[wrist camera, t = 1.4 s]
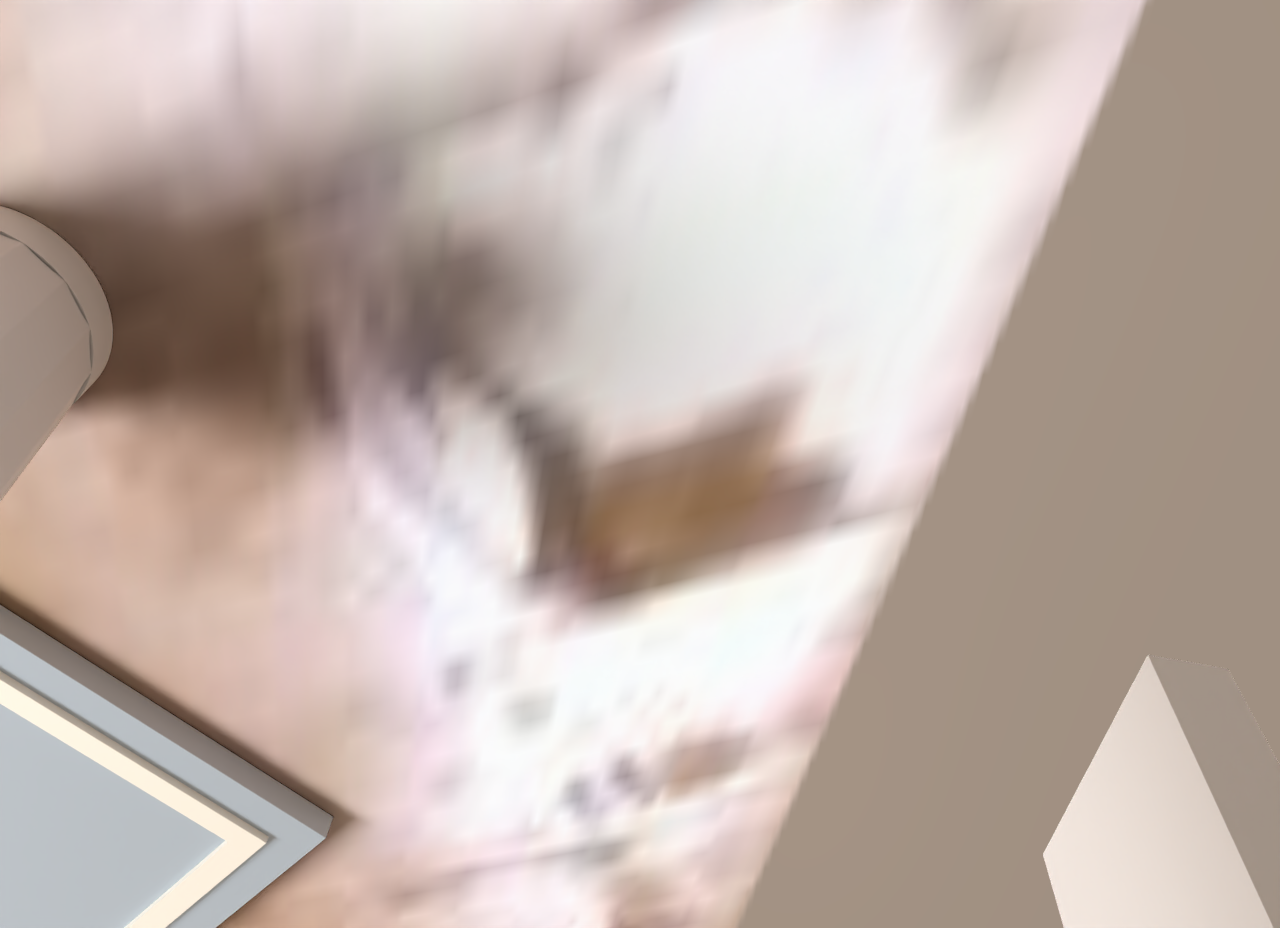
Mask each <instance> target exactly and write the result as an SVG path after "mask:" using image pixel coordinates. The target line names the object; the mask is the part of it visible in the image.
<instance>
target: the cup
mask: <svg viewBox="0 0 1280 928" xmlns="http://www.w3.org/2000/svg"><path fill="white" fill-rule="evenodd" d="M112 342H113V325H112V318H111V313H110V309H109V305H108V302H107V299H106V297H105V294H104V292H103V290H102V288H101V286H100V284H99V282H98V280H97V278H96V277H95V275H94V273H93V272H92V270H91V269H90V268H89V266H88V265H87V264H86V262H85V261H84V260H83V259H82V257H81V256H80V255H79V254H78V253H77V252H76V251H75V250H74V249H73V248H72V247H71V246H70V245H69V244H68V243H67V242H66V241H65V240H64V239H62V238H61V237H60V236H59V235H57V234H56V233H55V232H53V231H52V230H51V229H49V228H48V227H46V226H45V225H43V224H41V223H40V222H38V221H36V220H34V219H33V218H31V217H29V216H27V215H24V214H22V213H20V212H17V211H15V210H12V209H9V208H6V207H3V206H0V501H1V500H2V499H3V497H4V496H5V495H6V493H7V492H8V491H9V489H10V488H11V487H12V485H13V484H14V483H15V481H16V480H17V479H18V477H19V476H20V475H21V473H22V472H23V471H24V469H25V468H26V466H27V465H28V464H29V462H30V461H31V460H32V458H33V457H34V456H35V454H36V453H37V452H38V450H39V449H40V448H41V446H42V445H43V444H44V442H45V441H46V440H47V438H48V437H49V436H50V434H51V433H52V432H53V430H54V429H55V428H56V426H57V425H58V424H59V422H60V421H61V420H62V418H63V417H64V415H65V414H66V413H67V411H68V410H69V409H70V407H71V406H72V405H73V404H74V403H75V402H76V401H77V400H78V399H79V398H80V397H81V396H82V395H83V394H84V393H85V391H86V390H87V389H88V388H89V387H90V386H91V385H92V384H93V383H94V382H95V381H96V380H97V379H98V377H99V376H100V375H101V373H102V372H103V370H104V368H105V366H106V364H107V362H108V359H109V356H110V353H111V348H112Z"/></svg>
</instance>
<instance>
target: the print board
mask: <svg viewBox="0 0 1280 928" xmlns="http://www.w3.org/2000/svg"><path fill="white" fill-rule="evenodd" d="M332 819H333V816H331V815H329V814H328V813H326V812H325V811H323V810H322V809H320V808H318V807H317V806H315V805H314V804H312V803H311V802H309V801H307V800H306V799H304V798H303V797H301V796H300V795H298V794H296V793H295V792H293V791H292V790H290V789H289V788H287V787H285V786H284V785H282V784H281V783H279V782H278V781H276V780H274V779H273V778H271V777H270V776H268V775H267V774H265V773H264V772H262V771H260V770H259V769H257V768H256V767H254V766H253V765H251V764H249V763H248V762H246V761H245V760H243V759H242V758H240V757H238V756H237V755H235V754H234V753H232V752H231V751H229V750H227V749H226V748H224V747H223V746H221V745H220V744H218V743H216V742H215V741H213V740H212V739H210V738H209V737H207V736H205V735H204V734H202V733H201V732H199V731H198V730H196V729H194V728H193V727H191V726H190V725H188V724H187V723H185V722H183V721H182V720H180V719H179V718H177V717H176V716H174V715H172V714H171V713H169V712H168V711H166V710H165V709H163V708H161V707H160V706H158V705H157V704H155V703H154V702H152V701H150V700H149V699H147V698H146V697H144V696H143V695H141V694H139V693H138V692H136V691H135V690H133V689H132V688H130V687H128V686H127V685H125V684H124V683H122V682H121V681H119V680H117V679H116V678H114V677H113V676H111V675H110V674H108V673H106V672H105V671H103V670H102V669H100V668H99V667H97V666H96V665H94V664H92V663H91V662H89V661H88V660H86V659H85V658H83V657H81V656H80V655H78V654H77V653H75V652H74V651H72V650H70V649H69V648H67V647H66V646H64V645H63V644H61V643H59V642H58V641H56V640H55V639H53V638H52V637H50V636H48V635H47V634H45V633H44V632H42V631H41V630H39V629H37V628H36V627H34V626H33V625H31V624H30V623H28V622H26V621H25V620H23V619H22V618H20V617H19V616H17V615H15V614H14V613H12V612H11V611H9V610H8V609H6V608H4V607H3V606H1V605H0V928H216V927H217V926H218V925H220V924H221V923H222V922H223V921H225V920H226V919H227V918H228V917H229V916H231V915H232V914H233V913H234V912H236V911H237V910H238V909H239V908H241V907H242V906H243V905H244V904H245V903H247V902H248V901H249V900H250V899H252V898H253V897H254V896H255V895H257V894H258V893H259V892H260V891H261V890H263V889H264V888H265V887H266V886H268V885H269V884H270V883H271V882H273V881H274V880H275V879H276V878H277V877H279V876H280V875H281V874H282V873H284V872H285V871H286V870H287V869H289V868H290V867H291V866H292V865H293V864H295V863H296V862H297V861H298V860H300V859H301V858H302V857H303V856H305V855H306V854H307V853H308V852H309V851H311V850H312V849H313V848H314V847H316V846H317V845H318V844H319V843H321V842H322V841H323V840H324V839H325V838H326V837H327V834H328V831H329V828H330V825H331V822H332Z"/></svg>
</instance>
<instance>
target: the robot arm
mask: <svg viewBox="0 0 1280 928" xmlns="http://www.w3.org/2000/svg"><path fill="white" fill-rule="evenodd" d="M1043 856H1044V860H1045V863H1046V866H1047V870H1048V874H1049V877H1050V881H1051V884H1052V888H1053V891H1054V895H1055V898H1056V902H1057V905H1058V908H1059V912H1060V916H1061V919H1062V922H1063V926H1064V928H1280V764H1279V763H1278V761H1277V759H1276V757H1275V755H1274V753H1273V751H1272V750H1271V748H1270V746H1269V744H1268V742H1267V740H1266V738H1265V737H1264V735H1263V733H1262V731H1261V729H1260V727H1259V725H1258V724H1257V722H1256V720H1255V718H1254V716H1253V714H1252V712H1251V711H1250V709H1249V707H1248V705H1247V703H1246V701H1245V699H1244V697H1243V696H1242V694H1241V692H1240V690H1239V688H1238V686H1237V685H1236V683H1235V681H1234V679H1233V677H1232V675H1231V673H1230V671H1229V670H1228V669H1226V668H1220V667H1215V666H1209V665H1203V664H1197V663H1192V662H1186V661H1181V660H1175V659H1169V658H1163V657H1158V656H1152V655H1148V656H1147V658H1146V659H1145V661H1144V663H1143V665H1142V667H1141V669H1140V671H1139V673H1138V675H1137V677H1136V679H1135V680H1134V682H1133V684H1132V686H1131V688H1130V690H1129V692H1128V694H1127V696H1126V698H1125V699H1124V701H1123V703H1122V705H1121V707H1120V709H1119V711H1118V713H1117V715H1116V717H1115V719H1114V720H1113V722H1112V724H1111V726H1110V728H1109V730H1108V732H1107V734H1106V736H1105V738H1104V740H1103V741H1102V743H1101V745H1100V747H1099V749H1098V751H1097V753H1096V755H1095V756H1094V758H1093V760H1092V762H1091V764H1090V766H1089V768H1088V770H1087V772H1086V774H1085V775H1084V778H1083V779H1082V781H1081V783H1080V785H1079V787H1078V789H1077V791H1076V793H1075V795H1074V796H1073V798H1072V801H1071V802H1070V804H1069V806H1068V808H1067V810H1066V812H1065V814H1064V815H1063V818H1062V819H1061V821H1060V823H1059V825H1058V827H1057V829H1056V831H1055V833H1054V835H1053V836H1052V838H1051V840H1050V842H1049V844H1048V846H1047V848H1046V850H1045V852H1044V854H1043Z"/></svg>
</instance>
